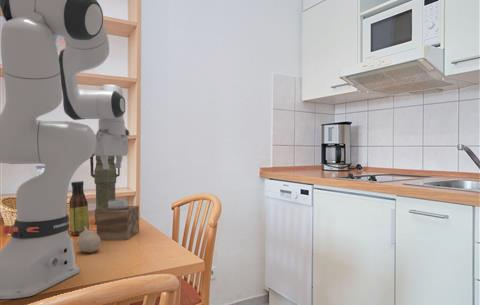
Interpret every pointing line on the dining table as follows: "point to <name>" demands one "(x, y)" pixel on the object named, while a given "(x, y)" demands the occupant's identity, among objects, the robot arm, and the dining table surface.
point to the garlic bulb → (88, 241)
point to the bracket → (117, 205)
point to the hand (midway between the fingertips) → (112, 168)
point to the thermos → (104, 182)
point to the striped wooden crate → (117, 223)
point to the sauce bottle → (78, 209)
